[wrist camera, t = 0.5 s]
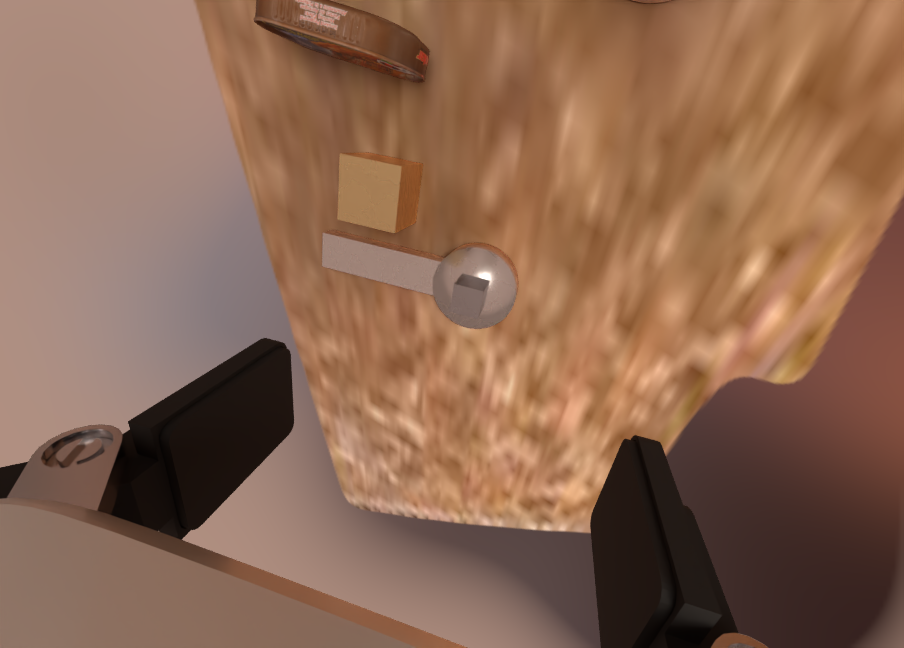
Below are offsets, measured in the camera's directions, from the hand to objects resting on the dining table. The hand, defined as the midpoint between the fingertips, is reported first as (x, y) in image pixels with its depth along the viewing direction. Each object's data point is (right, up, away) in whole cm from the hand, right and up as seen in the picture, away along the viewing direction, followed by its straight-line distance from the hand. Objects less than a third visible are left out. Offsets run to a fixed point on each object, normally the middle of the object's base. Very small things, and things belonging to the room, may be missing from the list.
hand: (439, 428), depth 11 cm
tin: (-8, +29, +26) cm, 40 cm away
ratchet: (-3, +9, +33) cm, 35 cm away
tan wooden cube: (-6, +17, +30) cm, 35 cm away
